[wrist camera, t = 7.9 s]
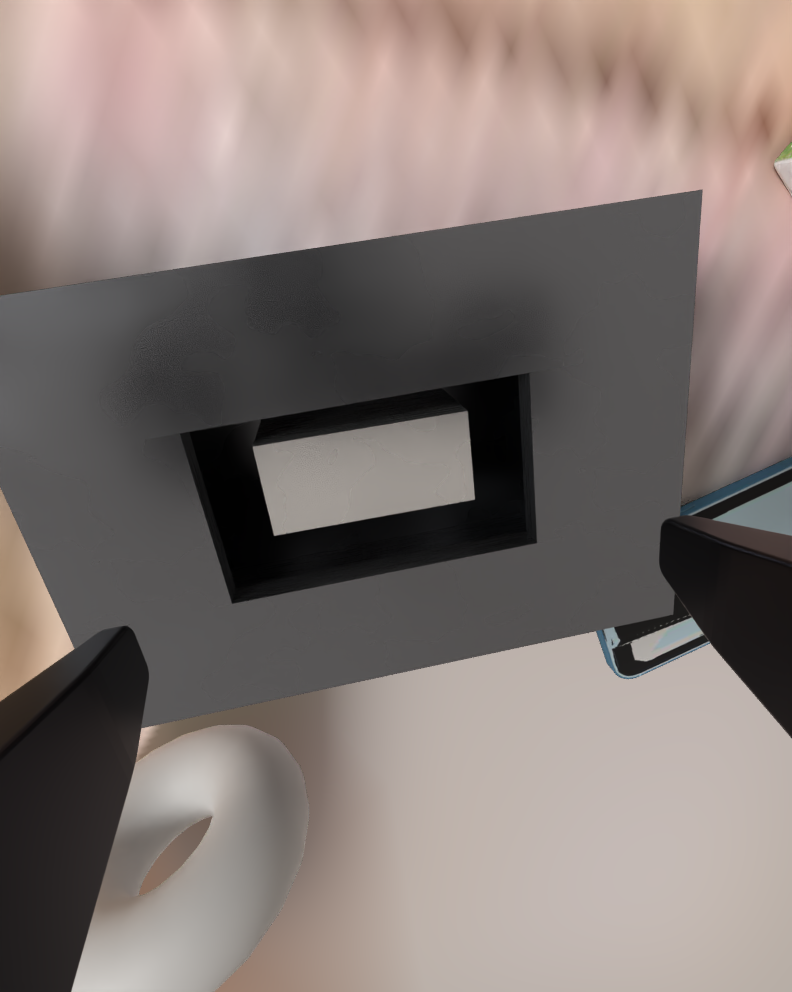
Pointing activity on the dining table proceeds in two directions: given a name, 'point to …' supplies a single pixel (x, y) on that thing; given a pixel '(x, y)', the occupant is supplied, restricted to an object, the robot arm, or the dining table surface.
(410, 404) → the light grey block
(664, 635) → the smartphone
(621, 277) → the cash box
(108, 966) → the donut
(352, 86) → the dining table surface
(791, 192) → the syrup box
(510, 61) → the dining table surface
